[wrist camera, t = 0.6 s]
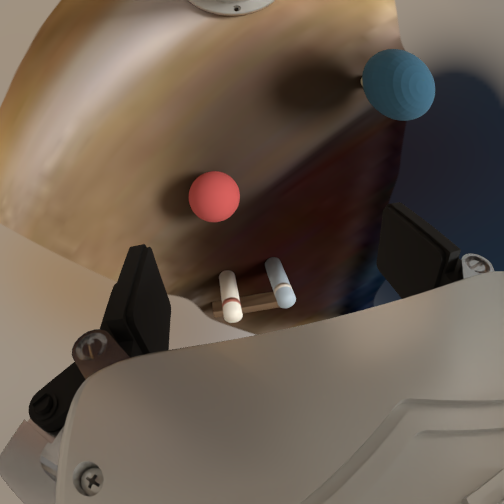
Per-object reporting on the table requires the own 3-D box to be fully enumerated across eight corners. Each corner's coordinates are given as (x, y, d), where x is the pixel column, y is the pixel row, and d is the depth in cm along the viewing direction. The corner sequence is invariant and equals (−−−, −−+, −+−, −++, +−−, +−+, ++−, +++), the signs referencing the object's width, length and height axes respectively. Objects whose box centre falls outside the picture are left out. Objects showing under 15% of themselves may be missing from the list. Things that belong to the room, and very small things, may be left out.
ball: (186, 169, 35) (183, 184, 30) (234, 162, 35) (239, 176, 30) (193, 213, 38) (192, 234, 33) (239, 206, 38) (245, 226, 33)
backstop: (212, 301, 46) (213, 312, 44) (280, 290, 47) (283, 300, 45) (213, 307, 47) (214, 317, 45) (280, 296, 48) (284, 306, 46)
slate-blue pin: (264, 258, 43) (277, 295, 36) (280, 255, 44) (296, 292, 36) (265, 271, 45) (277, 309, 38) (280, 269, 45) (295, 306, 38)
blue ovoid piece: (362, 123, 35) (418, 143, 24) (323, 76, 31) (374, 76, 21) (399, 87, 32) (459, 98, 22) (364, 41, 28) (422, 33, 18)
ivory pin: (217, 271, 43) (222, 310, 36) (234, 268, 43) (241, 307, 36) (220, 284, 45) (225, 324, 37) (236, 281, 45) (243, 321, 38)
